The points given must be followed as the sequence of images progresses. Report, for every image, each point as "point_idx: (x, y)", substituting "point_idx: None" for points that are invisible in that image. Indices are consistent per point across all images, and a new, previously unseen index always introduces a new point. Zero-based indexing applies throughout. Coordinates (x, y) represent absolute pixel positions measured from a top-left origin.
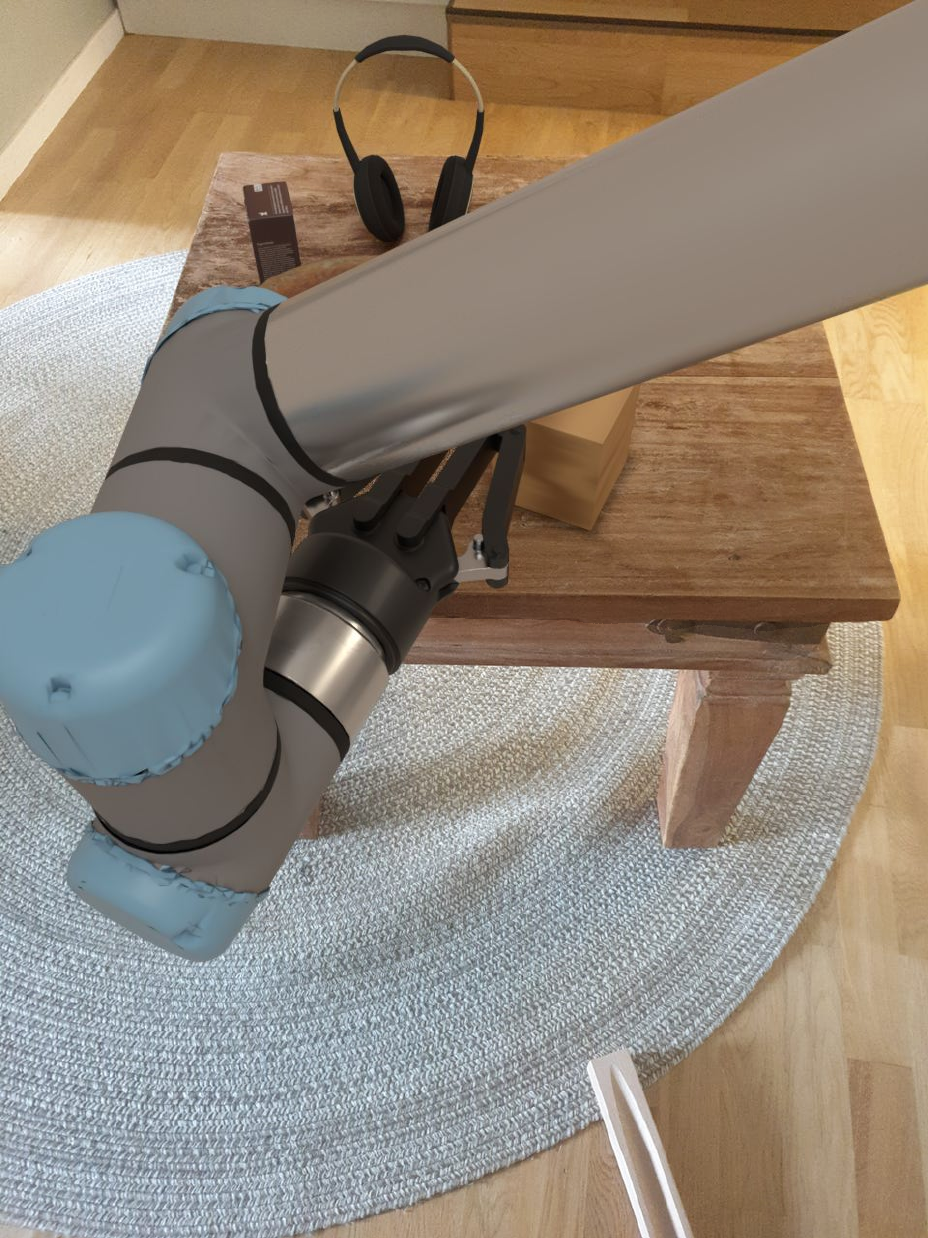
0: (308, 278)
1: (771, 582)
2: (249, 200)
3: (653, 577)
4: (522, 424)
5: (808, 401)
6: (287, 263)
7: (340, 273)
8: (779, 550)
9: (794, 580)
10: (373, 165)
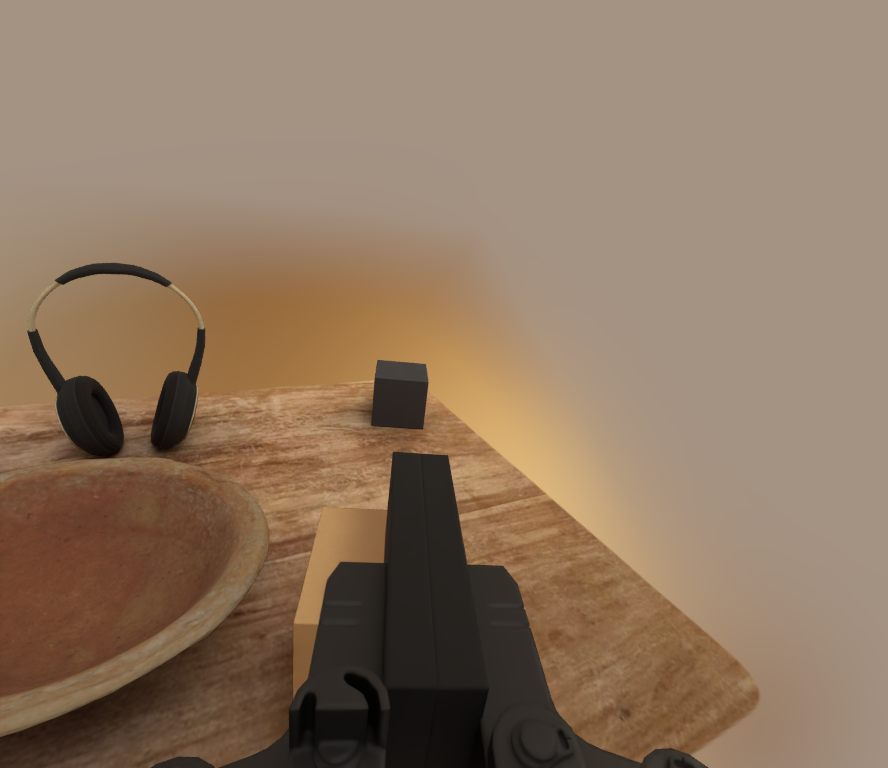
0: None
1: (682, 733)
2: None
3: None
4: (689, 758)
5: (549, 515)
6: None
7: (22, 486)
8: (652, 681)
9: (697, 718)
10: (82, 382)
